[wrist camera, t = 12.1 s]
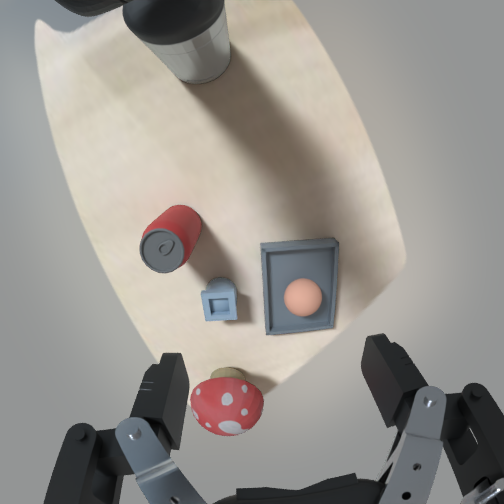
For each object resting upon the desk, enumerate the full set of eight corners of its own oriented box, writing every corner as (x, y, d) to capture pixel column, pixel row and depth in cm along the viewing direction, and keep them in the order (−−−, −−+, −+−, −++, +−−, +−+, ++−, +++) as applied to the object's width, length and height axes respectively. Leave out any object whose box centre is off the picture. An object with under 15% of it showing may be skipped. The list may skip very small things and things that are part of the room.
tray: (260, 243, 44) (261, 248, 42) (334, 237, 44) (338, 242, 42) (265, 327, 50) (266, 335, 48) (329, 320, 50) (333, 327, 48)
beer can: (210, 226, 43) (200, 254, 32) (180, 252, 44) (162, 287, 33) (182, 195, 41) (161, 212, 30) (153, 222, 43) (125, 248, 31)
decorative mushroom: (274, 372, 54) (282, 430, 40) (227, 399, 57) (226, 454, 43) (229, 336, 51) (226, 397, 36) (182, 368, 53) (170, 425, 39)
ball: (281, 273, 45) (286, 291, 40) (317, 270, 45) (327, 287, 40) (282, 305, 47) (286, 325, 42) (316, 301, 47) (324, 321, 42)
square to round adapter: (204, 278, 46) (200, 293, 42) (235, 276, 46) (234, 290, 42) (208, 305, 48) (205, 321, 43) (238, 303, 48) (237, 319, 43)
